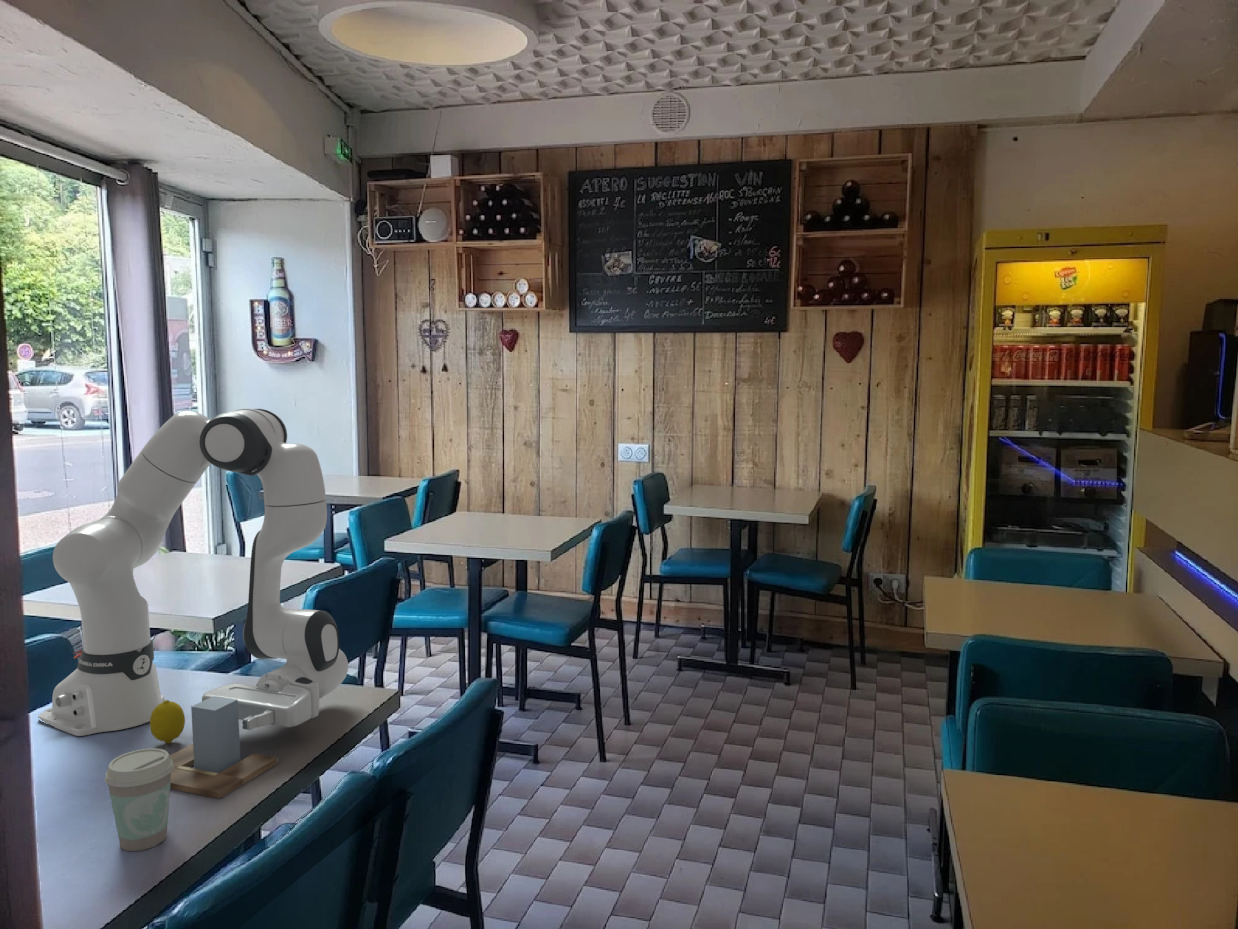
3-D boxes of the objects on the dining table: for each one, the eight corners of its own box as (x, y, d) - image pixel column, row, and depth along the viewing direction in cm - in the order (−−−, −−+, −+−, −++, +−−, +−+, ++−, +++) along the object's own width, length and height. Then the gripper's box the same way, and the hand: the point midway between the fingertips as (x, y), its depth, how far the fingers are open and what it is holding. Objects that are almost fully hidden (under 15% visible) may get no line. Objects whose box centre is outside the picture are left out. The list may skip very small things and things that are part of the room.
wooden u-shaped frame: (131, 780, 140) (131, 774, 140) (194, 748, 152) (194, 742, 152) (219, 798, 134) (218, 792, 134) (277, 763, 146) (277, 757, 146)
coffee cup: (110, 864, 116) (105, 779, 115) (107, 835, 123) (102, 755, 122) (181, 845, 121) (176, 763, 120) (173, 819, 128) (169, 741, 127)
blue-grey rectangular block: (194, 769, 144) (191, 706, 143) (217, 757, 149) (214, 696, 147) (218, 774, 142) (214, 710, 141) (240, 761, 147) (237, 699, 146)
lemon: (192, 737, 156) (190, 695, 156) (173, 750, 151) (171, 707, 150) (164, 736, 157) (161, 694, 156) (144, 749, 152) (141, 705, 151)
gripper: (234, 670, 162) (175, 696, 149) (324, 683, 156) (270, 711, 143) (236, 702, 163) (177, 731, 150) (326, 716, 156) (272, 748, 143)
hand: (223, 721), depth 146 cm, fingers open, 8 cm apart
